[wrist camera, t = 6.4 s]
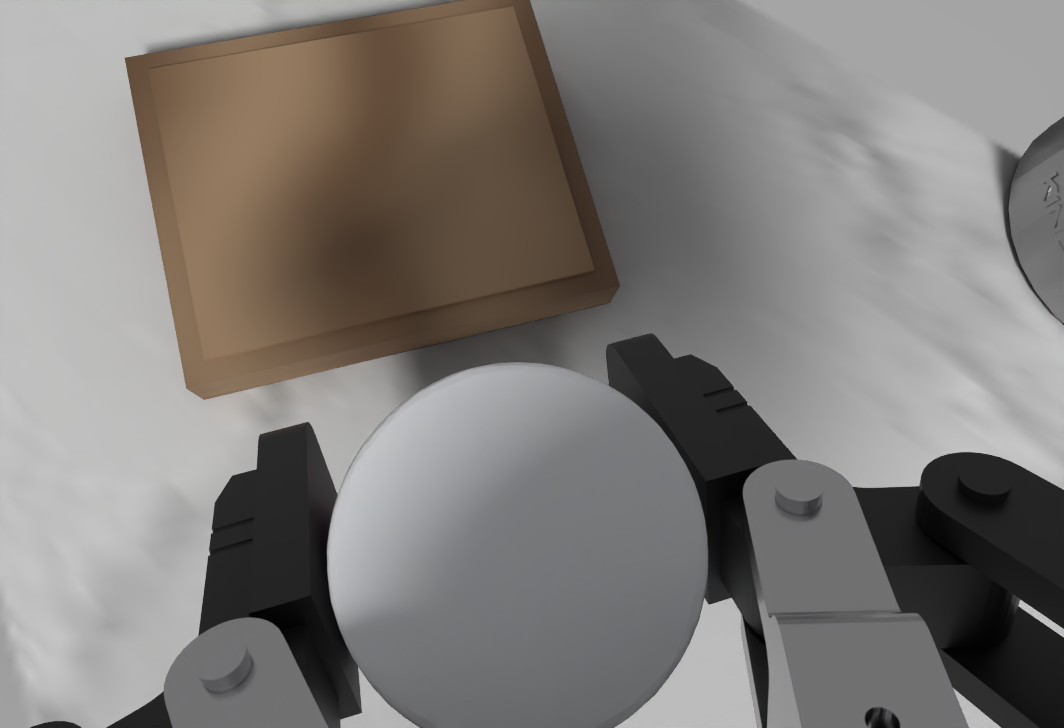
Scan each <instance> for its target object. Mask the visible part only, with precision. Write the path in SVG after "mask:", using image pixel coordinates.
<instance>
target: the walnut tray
mask: <svg viewBox="0 0 1064 728" xmlns="http://www.w3.org/2000/svg"><path fill="white" fill-rule="evenodd" d="M125 62H126V67H127V73H128V78H129V83H130V89H131V94H132V99H133V105H134V110H135V115H136V121H137V126H138V132H139V137H140V142H141V148H142V153H143V158H144V164H145V169H146V174H147V180H148V185H149V190H150V196H151V201H152V207H153V212H154V217H155V223H156V228H157V233H158V239H159V244H160V249H161V255H162V260H163V265H164V271H165V276H166V281H167V287H168V292H169V298H170V303H171V308H172V314H173V319H174V324H175V330H176V335H177V340H178V346H179V351H180V356H181V362H182V367H183V372H184V378H185V383H186V388H187V389H188V390H190V391H191V392H193V393H194V394H196V395H197V396H199V397H201V398H202V399H204V400H205V399H209V398H213V397H217V396H221V395H225V394H230V393H234V392H238V391H242V390H246V389H251V388H255V387H259V386H263V385H267V384H271V383H276V382H280V381H284V380H288V379H292V378H297V377H301V376H305V375H309V374H313V373H317V372H322V371H326V370H330V369H334V368H338V367H343V366H347V365H351V364H355V363H359V362H363V361H368V360H372V359H376V358H380V357H384V356H389V355H393V354H397V353H401V352H405V351H409V350H414V349H418V348H422V347H426V346H430V345H435V344H439V343H443V342H447V341H451V340H455V339H460V338H464V337H468V336H472V335H476V334H481V333H485V332H489V331H493V330H497V329H501V328H506V327H510V326H514V325H518V324H522V323H527V322H531V321H535V320H539V319H543V318H548V317H552V316H556V315H560V314H564V313H568V312H573V311H577V310H581V309H585V308H589V307H594V306H598V305H602V304H606V303H610V301H611V299H612V298H613V296H614V295H615V293H616V291H617V290H618V288H619V287H620V285H619V282H618V279H617V276H616V273H615V269H614V266H613V263H612V260H611V257H610V254H609V250H608V247H607V244H606V241H605V238H604V235H603V231H602V228H601V225H600V222H599V219H598V215H597V212H596V209H595V206H594V203H593V200H592V196H591V193H590V190H589V187H588V184H587V181H586V177H585V174H584V171H583V168H582V165H581V162H580V158H579V155H578V152H577V149H576V146H575V143H574V139H573V136H572V133H571V130H570V127H569V123H568V120H567V117H566V114H565V111H564V108H563V104H562V101H561V98H560V95H559V92H558V89H557V85H556V82H555V79H554V76H553V73H552V70H551V66H550V63H549V60H548V57H547V54H546V51H545V47H544V44H543V41H542V38H541V35H540V31H539V28H538V25H537V22H536V19H535V16H534V12H533V9H532V6H531V3H530V0H463V1H457V2H451V3H445V4H439V5H433V6H428V7H422V8H416V9H410V10H404V11H398V12H392V13H386V14H380V15H374V16H369V17H363V18H357V19H351V20H345V21H339V22H333V23H327V24H321V25H315V26H310V27H304V28H298V29H292V30H286V31H280V32H274V33H268V34H262V35H256V36H251V37H245V38H239V39H233V40H227V41H221V42H215V43H209V44H203V45H197V46H192V47H186V48H180V49H174V50H168V51H162V52H156V53H150V54H144V55H138V56H133V57H127V58H125Z"/></svg>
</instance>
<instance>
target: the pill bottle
mask: <svg viewBox="0 0 1064 728" xmlns="http://www.w3.org/2000/svg"><path fill="white" fill-rule="evenodd" d="M327 574H328V582H329V590H330V598H331V604H332V607H333V610H334V614H335V617H336V620H337V623H338V626H339V629H340V632H341V634H342V636H343V639H344V641H345V643H346V645H347V647H348V649H349V651H350V654H351V656H352V658H353V659H354V661H355V662H356V664H357V665H358V667H359V668H360V670H361V671H362V673H363V674H364V676H365V677H366V679H367V680H368V681H369V683H370V684H371V685H372V687H373V688H374V689H375V690H376V691H377V692H378V693H379V694H380V695H381V696H382V698H383V699H384V700H385V701H386V702H387V703H388V704H389V705H390V706H391V707H393V708H394V709H395V710H396V711H397V712H399V713H400V714H401V715H402V716H404V717H405V718H406V719H408V720H409V721H411V722H412V723H414V724H415V725H417V726H418V727H420V728H614V727H616V726H617V725H619V724H621V723H622V722H623V721H625V720H626V719H628V718H629V717H630V716H632V715H633V714H634V713H635V712H636V711H638V710H639V709H640V708H641V707H642V706H643V705H644V704H645V703H646V702H648V701H649V700H650V699H651V698H652V697H653V696H654V695H655V694H656V693H657V692H658V691H659V689H660V688H661V687H662V685H663V684H664V683H665V682H666V680H667V679H668V678H669V676H670V675H671V674H672V672H673V671H674V669H675V668H676V666H677V665H678V663H679V662H680V660H681V658H682V656H683V655H684V653H685V651H686V649H687V647H688V645H689V643H690V641H691V638H692V636H693V633H694V631H695V628H696V626H697V623H698V621H699V618H700V614H701V609H702V605H703V601H704V597H705V592H706V585H707V577H708V545H707V532H706V525H705V518H704V513H703V510H702V506H701V502H700V498H699V495H698V492H697V489H696V486H695V483H694V481H693V479H692V477H691V474H690V472H689V470H688V468H687V466H686V464H685V462H684V461H683V459H682V457H681V456H680V454H679V453H678V451H677V449H676V448H675V446H674V444H673V443H672V442H671V441H670V439H669V438H668V437H667V435H666V434H665V433H664V431H663V430H662V429H661V427H660V426H659V425H658V424H657V423H656V422H655V421H654V420H653V419H652V418H651V417H650V416H649V415H648V414H647V413H646V412H645V411H643V410H642V409H641V408H640V407H639V406H638V405H637V404H635V403H634V402H633V401H631V400H630V399H629V398H627V397H626V396H625V395H623V394H622V393H620V392H618V391H617V390H615V389H614V388H612V387H610V386H608V385H607V384H605V383H603V382H601V381H599V380H597V379H594V378H592V377H590V376H587V375H584V374H581V373H579V372H576V371H573V370H570V369H566V368H562V367H558V366H553V365H547V364H541V363H526V362H509V363H495V364H490V365H484V366H479V367H474V368H470V369H466V370H463V371H460V372H457V373H454V374H452V375H449V376H447V377H445V378H443V379H441V380H439V381H436V382H434V383H432V384H430V385H429V386H427V387H426V388H424V389H422V390H420V391H418V392H417V393H415V394H414V395H413V396H412V397H410V398H409V399H408V400H406V401H405V402H403V403H402V404H400V405H399V406H398V407H397V408H396V409H395V410H394V411H393V412H391V413H390V414H389V415H388V416H387V417H386V418H385V419H384V420H383V421H382V422H381V423H380V424H379V425H378V427H377V428H376V429H375V430H374V432H373V433H372V434H371V435H370V437H369V438H368V439H367V440H366V442H365V443H364V444H363V445H362V447H361V448H360V450H359V451H358V453H357V455H356V456H355V458H354V460H353V461H352V463H351V465H350V466H349V469H348V471H347V473H346V475H345V478H344V480H343V482H342V485H341V487H340V490H339V493H338V496H337V499H336V502H335V505H334V509H333V512H332V517H331V523H330V529H329V536H328V543H327Z"/></svg>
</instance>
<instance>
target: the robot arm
mask: <svg viewBox="0 0 1064 728" xmlns="http://www.w3.org/2000/svg"><path fill="white" fill-rule="evenodd" d="M1009 218H1010V226H1011V235H1012V239H1013V242H1014V245H1015V248H1016V252H1017V255H1018V258H1019V261H1020V264H1021V266H1022V268H1023V270H1024V271H1025V273H1026V275H1027V277H1028V279H1029V281H1030V282H1031V284H1032V286H1033V288H1034V290H1035V292H1036V293H1037V294H1038V295H1039V297H1040V298H1041V299H1042V300H1043V302H1044V303H1045V304H1046V305H1047V307H1048V308H1049V309H1050V310H1051V312H1052V313H1053V314H1054V315H1055V316H1056V317H1057V318H1058V319H1059V320H1060V321H1061V322H1062V323H1064V117H1063V118H1061V119H1060V120H1058V121H1057V122H1056V123H1054V124H1053V125H1051V126H1050V127H1049V128H1048V129H1047V130H1046V131H1045V132H1043V133H1042V134H1041V135H1040V136H1038V137H1037V138H1036V139H1035V140H1034V141H1033V142H1032V143H1031V145H1030V146H1029V148H1028V149H1027V151H1026V152H1025V153H1024V155H1023V156H1022V158H1021V159H1020V161H1019V164H1018V166H1017V169H1016V172H1015V175H1014V177H1013V180H1012V183H1011V191H1010V200H1009ZM606 359H607V369H608V379H609V386H610V387H612V388H614V389H615V390H617V391H618V392H620V393H622V394H623V395H625V396H626V397H627V398H629V399H630V400H631V401H633V402H634V403H635V404H637V405H638V406H639V407H640V408H641V409H642V410H643V411H645V412H646V413H647V414H648V415H649V416H650V417H651V418H652V419H653V420H654V421H655V422H656V423H657V424H658V425H659V426H660V427H661V429H662V430H663V431H664V433H665V434H666V435H667V437H668V438H669V439H670V441H671V442H672V443H673V444H674V446H675V448H676V449H677V451H678V453H679V454H680V456H681V457H682V459H683V461H684V462H685V464H686V466H687V468H688V470H689V472H690V474H691V477H692V479H693V481H694V483H695V486H696V489H697V492H698V495H699V498H700V502H701V506H702V510H703V513H704V518H705V525H706V532H707V545H708V577H707V585H706V592H705V599H706V601H707V602H708V604H713V603H716V602H719V601H722V600H725V599H728V598H732V599H733V600H734V602H735V604H736V605H737V607H738V609H739V610H740V612H741V635H742V641H743V647H744V653H745V659H746V665H747V671H748V677H749V683H750V688H751V694H752V700H753V706H754V712H755V718H756V724H757V728H969V727H968V724H967V722H966V719H965V717H964V714H963V712H962V710H961V707H960V705H959V702H958V700H957V697H956V695H955V692H954V690H953V688H954V689H955V690H956V691H958V692H959V693H960V694H961V695H963V696H964V697H965V698H966V699H967V700H969V701H970V702H971V703H972V704H973V705H975V706H976V707H977V708H978V709H979V710H981V711H982V712H983V713H984V714H985V715H987V716H988V717H989V718H990V719H992V720H993V721H994V722H995V723H996V724H998V725H999V726H1000V727H1001V728H1064V638H1063V637H1062V636H1060V635H1059V634H1058V633H1056V632H1055V631H1053V630H1052V629H1050V628H1049V627H1047V626H1046V625H1045V624H1043V623H1042V622H1040V621H1039V620H1037V619H1036V618H1034V617H1033V616H1031V615H1030V614H1029V613H1027V612H1026V611H1024V610H1023V609H1021V608H1020V607H1018V605H1019V602H1020V599H1021V600H1022V601H1024V602H1025V603H1027V604H1028V605H1030V606H1031V607H1033V608H1034V609H1035V610H1037V611H1038V612H1040V613H1041V614H1043V615H1044V616H1046V617H1047V618H1049V619H1050V620H1052V621H1053V622H1055V623H1056V624H1058V625H1059V626H1060V627H1062V628H1063V629H1064V490H1063V489H1061V488H1059V487H1057V486H1056V485H1054V484H1052V483H1050V482H1048V481H1046V480H1045V479H1043V478H1041V477H1039V476H1037V475H1035V474H1034V473H1032V472H1030V471H1028V470H1026V469H1024V468H1023V467H1021V466H1019V465H1017V464H1015V463H1013V462H1011V461H1008V460H1005V459H1003V458H1000V457H996V456H992V455H988V454H982V453H972V452H961V453H953V454H948V455H944V456H941V457H939V458H937V459H935V460H933V461H932V462H930V463H929V464H928V465H927V466H926V467H925V468H924V470H923V473H922V475H921V481H920V486H916V487H888V488H858V487H852V486H851V484H850V483H849V482H848V481H847V480H846V479H845V478H844V477H843V476H842V475H841V474H839V473H838V472H836V471H834V470H833V469H831V468H829V467H827V466H824V465H821V464H818V463H815V462H810V461H805V460H797V459H796V457H795V456H794V455H793V454H792V453H791V452H790V451H789V449H788V448H787V447H786V446H785V445H784V444H783V443H782V441H781V440H780V439H779V438H778V437H777V436H776V435H775V433H774V432H773V431H772V430H771V429H770V428H769V427H768V425H767V424H766V423H765V422H764V421H763V420H762V419H761V417H760V416H759V415H758V414H757V413H756V412H755V411H754V409H753V408H752V407H751V406H748V405H747V401H746V400H745V399H744V398H743V397H742V396H741V394H740V393H739V392H738V391H737V390H734V388H733V385H732V384H731V383H730V382H729V381H728V380H727V378H726V377H725V376H724V375H723V374H722V373H721V372H720V370H719V369H718V368H717V367H715V366H713V365H711V364H709V363H707V362H705V361H703V360H701V359H699V358H697V357H695V356H693V355H691V354H690V355H686V356H683V357H679V358H675V359H674V358H673V357H672V356H671V355H670V353H669V352H668V351H667V350H666V348H665V347H664V346H663V345H662V343H661V342H660V341H659V340H658V338H657V337H656V336H655V335H654V334H652V333H650V334H646V335H642V336H639V337H635V338H631V339H627V340H623V341H619V342H616V343H612V344H608V346H607V349H606ZM337 496H338V495H337V492H336V490H335V487H334V484H333V481H332V479H331V476H330V473H329V471H328V468H327V465H326V462H325V460H324V457H323V454H322V452H321V449H320V446H319V443H318V441H317V438H316V435H315V433H314V430H313V428H312V426H311V424H310V423H309V422H306V423H302V424H298V425H294V426H291V427H287V428H283V429H279V430H275V431H272V432H268V433H264V434H260V436H259V441H258V457H257V469H256V470H252V471H248V472H245V473H241V474H237V475H233V476H232V477H231V478H230V480H229V482H228V483H227V485H226V486H225V488H224V489H223V491H222V492H221V494H220V496H219V497H218V499H217V500H216V502H215V507H214V516H213V524H212V530H213V534H211V540H210V548H209V551H210V556H208V564H207V572H206V580H205V588H204V596H203V604H202V612H201V620H200V628H199V636H198V637H197V638H196V639H194V640H193V641H192V642H191V643H190V644H189V645H188V646H186V647H185V648H184V649H183V651H182V652H181V653H180V654H179V655H178V657H177V658H176V659H175V661H174V663H173V664H172V666H171V668H170V670H169V672H168V674H167V677H166V680H165V684H164V691H163V692H162V693H161V694H160V695H159V696H157V697H156V698H155V699H153V700H152V701H151V702H149V703H147V704H146V705H144V706H143V707H141V708H140V709H138V710H136V711H134V712H133V713H131V714H129V715H127V716H126V717H124V718H122V719H121V720H119V721H117V722H115V723H114V724H112V725H110V726H108V727H107V728H341V727H340V719H343V718H347V717H350V716H353V715H356V714H359V713H362V709H361V697H360V685H359V673H358V665H357V664H356V662H355V661H354V659H353V658H352V656H351V654H350V651H349V649H348V647H347V645H346V643H345V641H344V639H343V636H342V634H341V632H340V629H339V626H338V623H337V620H336V617H335V614H334V610H333V607H332V604H331V598H330V590H329V582H328V574H327V543H328V536H329V529H330V523H331V517H332V512H333V509H334V505H335V502H336V499H337ZM31 728H81V727H80V726H78V725H76V724H74V723H70V722H66V721H54V722H48V723H43V724H39V725H36V726H33V727H31Z"/></svg>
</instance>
